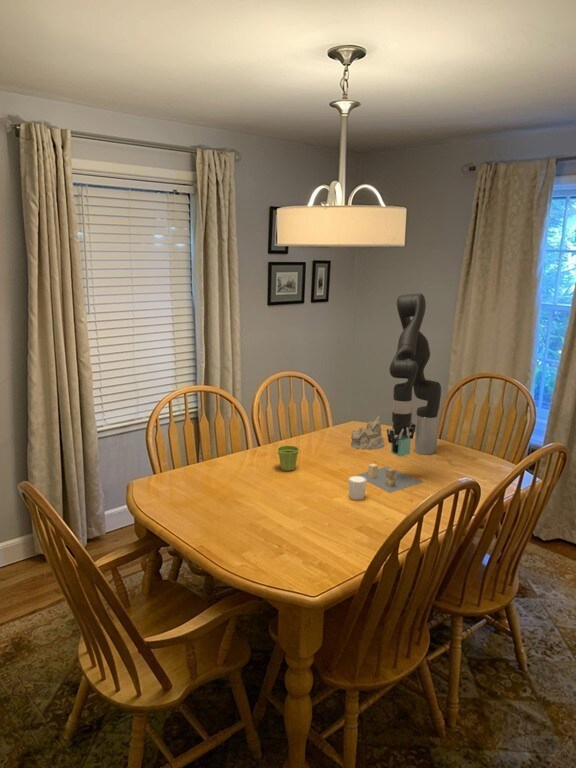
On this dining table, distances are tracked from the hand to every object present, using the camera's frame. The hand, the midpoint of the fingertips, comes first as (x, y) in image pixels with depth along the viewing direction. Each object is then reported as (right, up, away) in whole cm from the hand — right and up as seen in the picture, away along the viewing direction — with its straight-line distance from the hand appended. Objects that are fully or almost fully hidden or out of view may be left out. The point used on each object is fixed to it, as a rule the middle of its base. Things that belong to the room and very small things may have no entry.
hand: (400, 451), depth 223 cm
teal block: (0, -1, 0) cm, 1 cm away
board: (-5, -12, 0) cm, 13 cm away
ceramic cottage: (-7, -2, +44) cm, 44 cm away
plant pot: (-45, -9, +12) cm, 47 cm away
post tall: (-5, -13, -6) cm, 16 cm away
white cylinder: (-19, -15, -14) cm, 28 cm away
